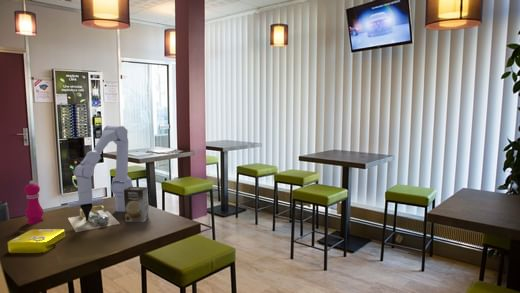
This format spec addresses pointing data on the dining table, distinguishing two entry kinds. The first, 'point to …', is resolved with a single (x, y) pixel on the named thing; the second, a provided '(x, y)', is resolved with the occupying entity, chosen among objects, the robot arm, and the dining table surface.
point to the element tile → (36, 241)
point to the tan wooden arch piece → (93, 210)
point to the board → (89, 223)
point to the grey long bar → (102, 218)
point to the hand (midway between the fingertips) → (87, 220)
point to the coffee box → (136, 204)
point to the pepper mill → (33, 204)
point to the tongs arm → (94, 219)
